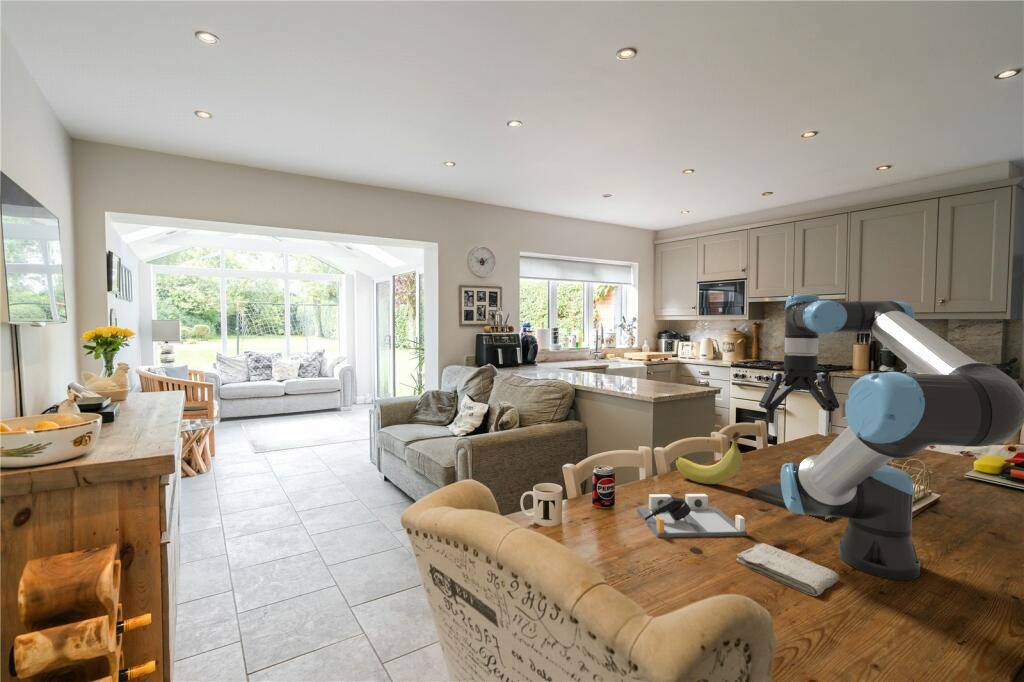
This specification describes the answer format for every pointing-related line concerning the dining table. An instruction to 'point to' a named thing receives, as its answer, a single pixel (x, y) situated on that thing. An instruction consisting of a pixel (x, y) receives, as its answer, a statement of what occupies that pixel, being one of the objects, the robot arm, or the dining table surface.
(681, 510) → the power plug
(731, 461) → the banana
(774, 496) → the hardcover book
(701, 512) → the board
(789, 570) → the washcloth
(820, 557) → the dining table surface
